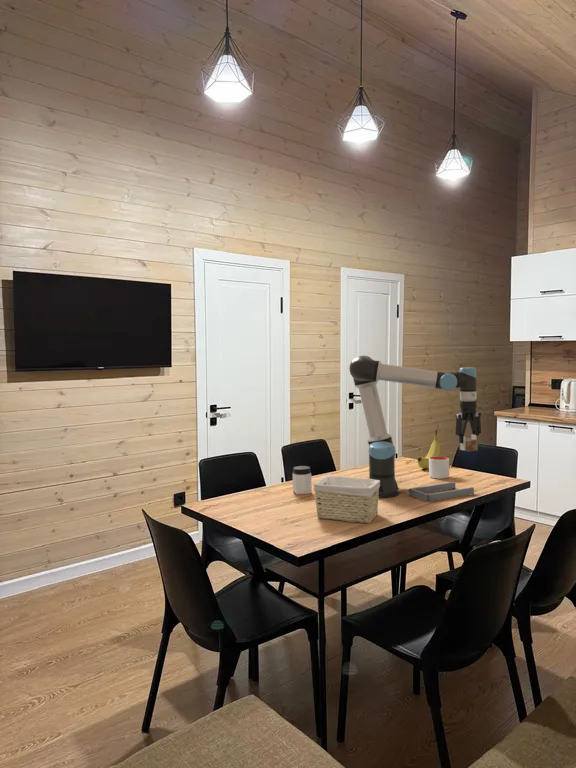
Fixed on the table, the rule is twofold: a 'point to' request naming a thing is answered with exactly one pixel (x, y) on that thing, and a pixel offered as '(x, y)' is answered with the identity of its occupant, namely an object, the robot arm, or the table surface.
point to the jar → (302, 480)
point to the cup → (439, 467)
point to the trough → (425, 492)
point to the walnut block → (470, 445)
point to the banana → (430, 453)
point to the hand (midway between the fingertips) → (468, 449)
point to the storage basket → (347, 498)
